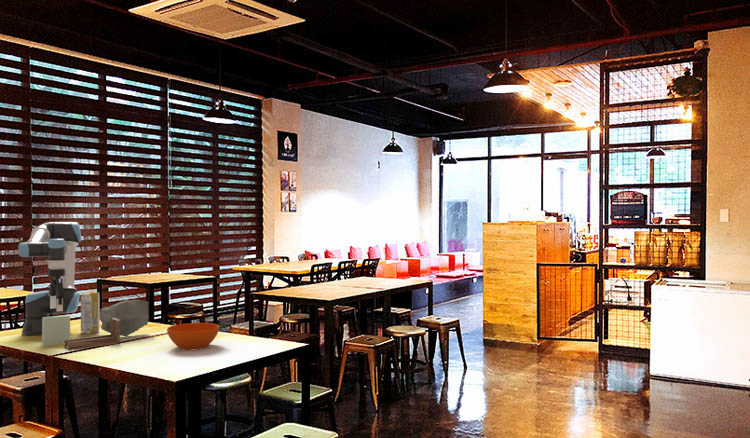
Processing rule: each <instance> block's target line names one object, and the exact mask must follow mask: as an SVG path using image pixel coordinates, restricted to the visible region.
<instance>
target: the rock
mask: <svg viewBox="0 0 750 438" xmlns="http://www.w3.org/2000/svg"><path fill="white" fill-rule="evenodd" d="M149 303H150V302H148V301H147V300H141V299H131V300H129V299H125V300H122V301H119V302H117V303H116V302H115V304H112V305H110V306H104V307H103V308H100V316H99V322H101V325H100V328H101V330H103V331H105V333H109V334H111V318H116V319H118V320H120V337H128V336H129V335H131V334H133V333H135V332H138V331H139V330H140V329H141V328H143V327H145V326H147V325H148V324H149V317H150V316H149V313H150V312H149Z"/></svg>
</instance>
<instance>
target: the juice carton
mask: <svg viewBox="0 0 750 438" xmlns="http://www.w3.org/2000/svg"><path fill="white" fill-rule="evenodd" d="M100 301H101V300H100V292H99V291H98V292H96V290H95V289H91V290H89V291H84V292H83V291H82V292H81V293H80V333H83V334H87V335H90V334H91V335H92V334H95V333H99V332H100V310H101V308H100V306H101V305H100V304H101V303H100Z"/></svg>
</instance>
